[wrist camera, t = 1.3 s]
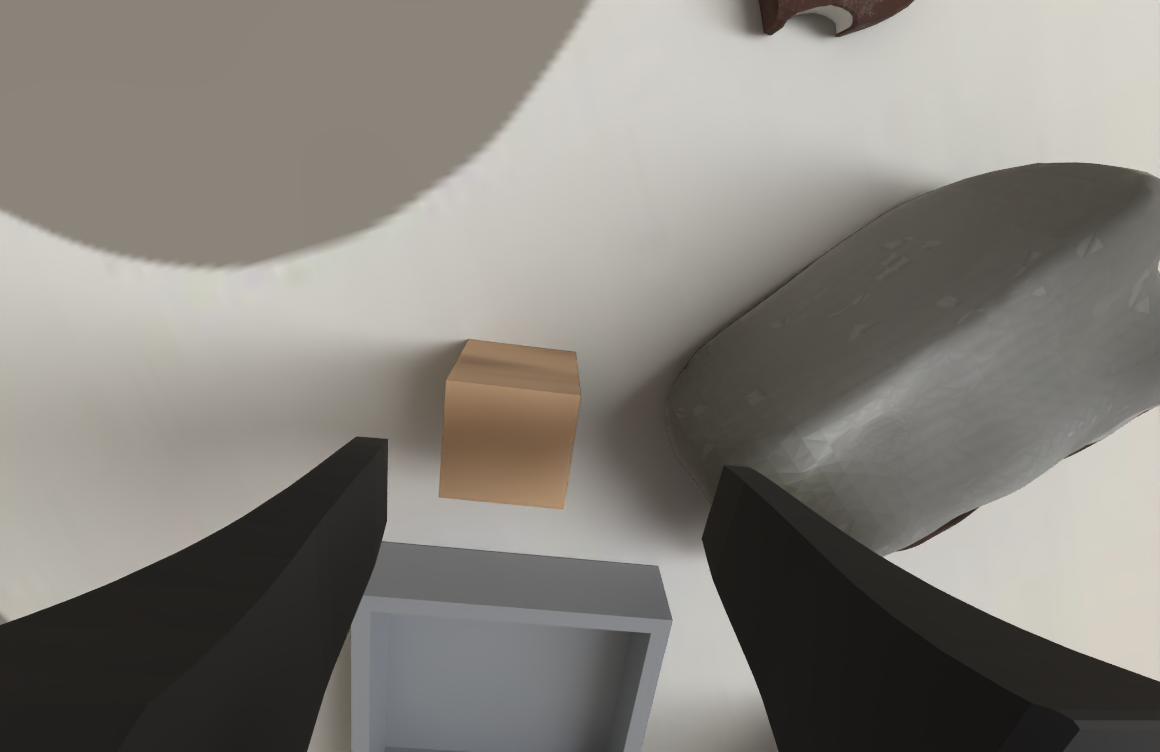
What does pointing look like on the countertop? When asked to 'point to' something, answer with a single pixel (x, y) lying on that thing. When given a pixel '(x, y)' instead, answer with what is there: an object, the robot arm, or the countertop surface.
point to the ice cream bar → (831, 12)
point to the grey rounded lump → (939, 353)
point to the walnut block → (509, 424)
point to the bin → (504, 652)
